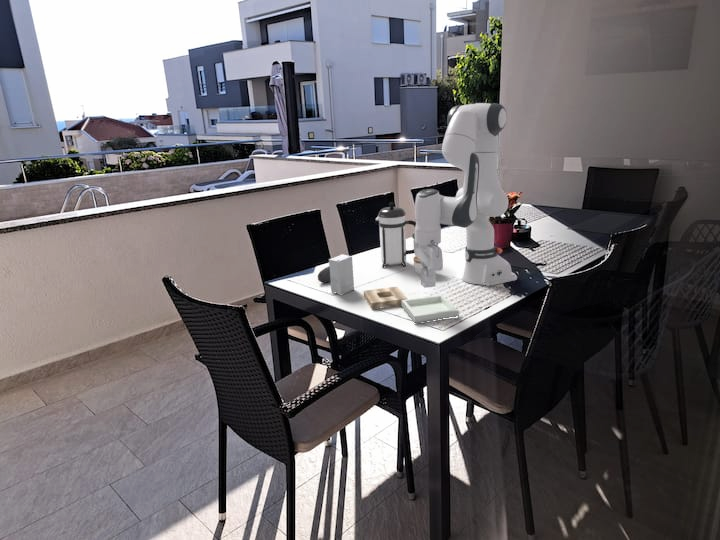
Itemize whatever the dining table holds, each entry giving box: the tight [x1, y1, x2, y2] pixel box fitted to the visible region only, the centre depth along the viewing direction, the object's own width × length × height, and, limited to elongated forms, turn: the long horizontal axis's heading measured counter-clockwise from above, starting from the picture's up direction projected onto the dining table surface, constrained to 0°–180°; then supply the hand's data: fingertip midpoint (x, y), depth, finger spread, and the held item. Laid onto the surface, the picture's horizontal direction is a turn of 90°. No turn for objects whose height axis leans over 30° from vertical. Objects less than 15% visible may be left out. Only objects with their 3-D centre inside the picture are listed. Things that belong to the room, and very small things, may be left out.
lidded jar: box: [413, 256, 437, 277], centre depth 217 cm, size 11×11×9 cm
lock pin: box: [420, 267, 436, 289], centre depth 173 cm, size 4×4×6 cm
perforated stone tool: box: [317, 265, 331, 283], centre depth 217 cm, size 15×5×7 cm, turn 127°
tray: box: [401, 294, 460, 324], centre depth 177 cm, size 16×16×3 cm
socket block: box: [363, 286, 409, 310], centre depth 191 cm, size 14×14×2 cm
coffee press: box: [375, 201, 416, 269], centre depth 231 cm, size 17×16×30 cm
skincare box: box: [328, 253, 355, 295], centre depth 201 cm, size 8×6×15 cm
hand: (428, 275), depth 173 cm, fingers closed on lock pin, 4 cm apart
